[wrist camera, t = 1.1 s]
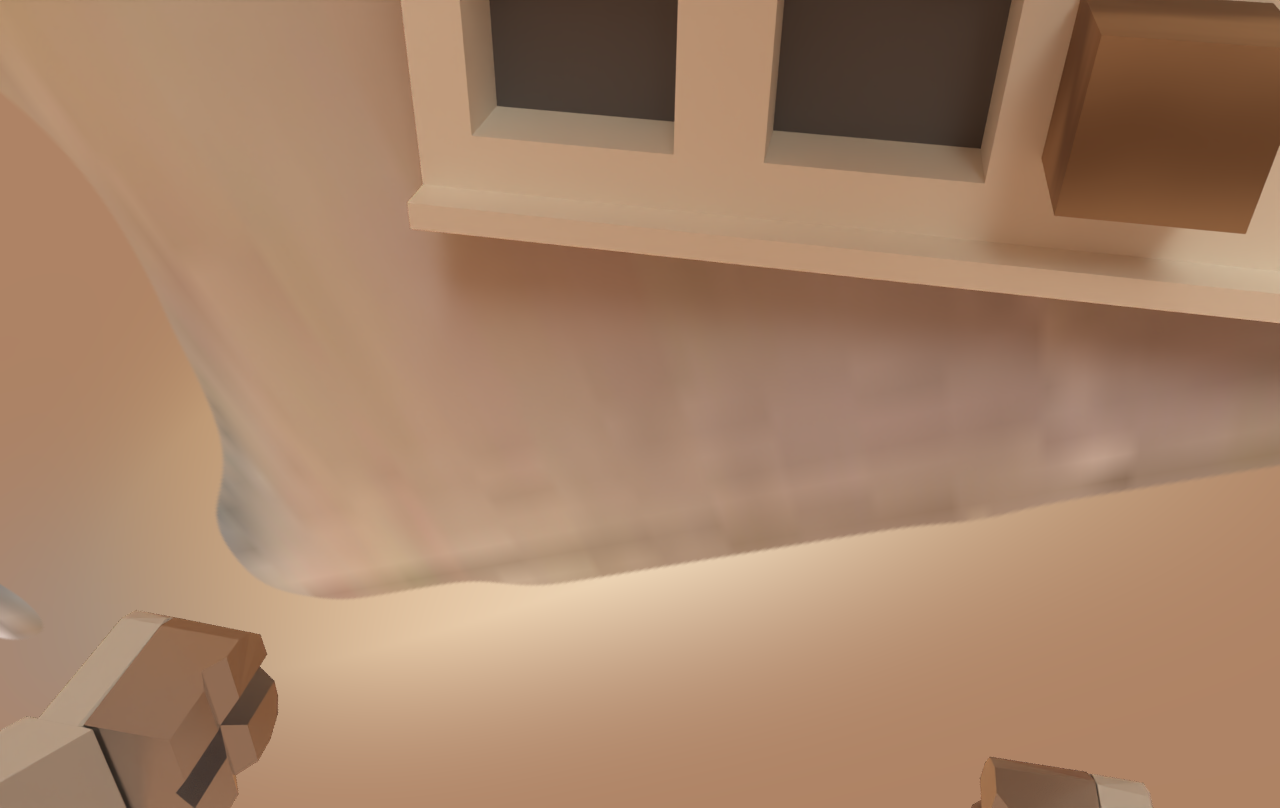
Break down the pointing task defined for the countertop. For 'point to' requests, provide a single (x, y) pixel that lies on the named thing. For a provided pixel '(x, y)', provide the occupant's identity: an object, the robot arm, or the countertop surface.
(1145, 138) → the walnut block
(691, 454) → the countertop surface
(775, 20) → the trap track
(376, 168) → the countertop surface
